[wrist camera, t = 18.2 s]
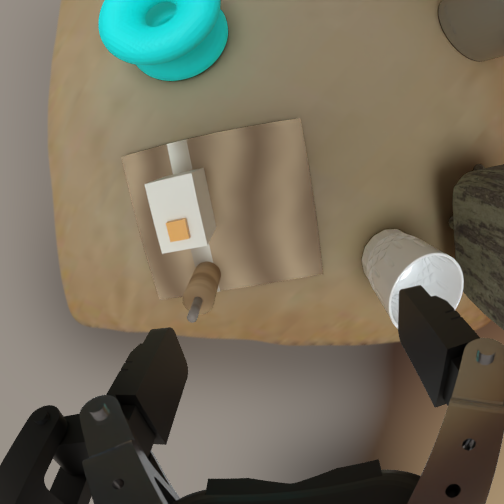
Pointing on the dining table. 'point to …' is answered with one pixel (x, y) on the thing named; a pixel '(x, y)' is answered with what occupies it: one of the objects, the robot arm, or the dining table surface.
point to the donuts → (165, 35)
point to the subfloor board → (236, 206)
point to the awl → (201, 290)
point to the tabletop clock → (481, 237)
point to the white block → (181, 210)
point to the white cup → (409, 269)
